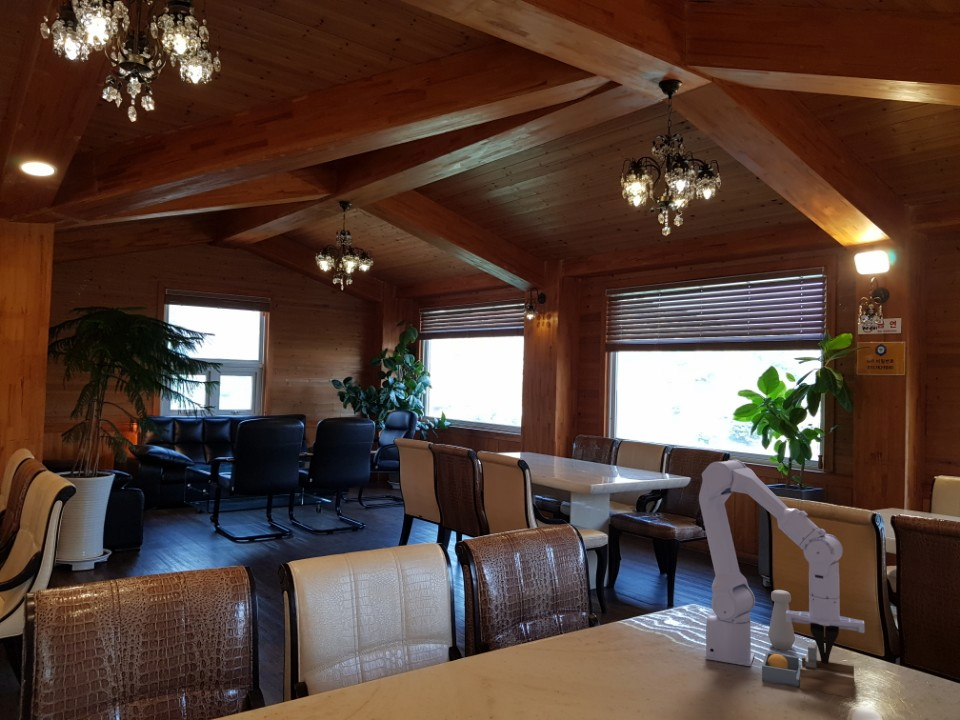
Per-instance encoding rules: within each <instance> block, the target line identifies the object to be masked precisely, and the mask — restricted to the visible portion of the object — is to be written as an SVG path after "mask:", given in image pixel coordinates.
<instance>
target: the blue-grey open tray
mask: <svg viewBox="0 0 960 720" xmlns="http://www.w3.org/2000/svg"><path fill="white" fill-rule="evenodd" d="M773 654H775V653H774V652H765V655H764V658H763V661H762V665H761V681H762V682H767V683H773V684H779V685H784V686H791V687H796V688H800V667H801V668H802V664H800V663H799V662H800V661H799V660H800V659H799V657H798V656H793V655H786V654H781V653H779V654H780V655H782V656H783V657H785V659H786V660H787V662H788V669H782V668H776V667H770V666H768V658H769V657H770V656H771V655H773Z"/></svg>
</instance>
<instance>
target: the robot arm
mask: <svg viewBox="0 0 960 720" xmlns="http://www.w3.org/2000/svg"><path fill="white" fill-rule="evenodd" d="M701 477H702V481H701V482H702V483H701V485H700V489H699V490H700V491H699V495H698V501H699V502H698V503H699V507H700V511H701V515H702V521H703V525H704V529H705V534H706V537H707V538H706V539H707V543H708V547H709V548H708V549H709V551H710V556H711V561H712V565H713V571H714V575H715V576H714V579H713V581H712V585H711V591H712V597H711V603H710V604H711V610H712V611H713V613H714V614H708V615H707V616H706V623H705V626H706V627H705V630H706V631H705V659H706V660H710V661H715V662H716V661H717V662H720V663H721V662H723V663H727V664H728V663H729V664H734V665H739V666H746V667H751V665H752V662H753V660H754V658H755V653H754V652H752V651H751V650H752V649H751V646H752V645H751V639H752V638H751V637H752V636H751V611H752V610H753V609H754V608H755V604H756V597H755V594H754V592H753V590H752V589H751V588H750V587H749V584H748V579H747V578H746V577H745V576H744V574H742V572H741V570H740V567H739V562H738V559H737V553H736V548H735V546H734V545H735V544H734V540H733V535H732V532H731V526H730V523H729V518H728V514H727V509H726V504H725V503H726V501H727V500H728V499H729V497H730V496H731V495H732V493H733V492H734V493H740V494H746V495H748V496H750V497H751V498H752V499H753V500H754V501H755V502H757V503H758V504H759V506H761V507H763V508H764V509H765V510H766V511H767V512H769V513H770V514H771V515H772V516H773V517H774V518H776V521H777V527H778V529H779V530H781V531H782V532H783V534H785V535H786V536H787V537H788V538H789V539H790V540H791V541H792V542H794V543H795V544H796V545H797V546H798V548H800V549H801V550H803V556H804V558H805V560H806V561H807V562H808V610H809V611H801V610H800V611H798V610H797V611H795V610H790V611H788V610H787V611H786V622H790V623H792V624H793V623H798V624H805V625H810V626H809V627H810V629H809V630H810V632H811V635H812V637H813V639H814V642H816V644H817V650H818V652H819V655H820V659H821V663H824V664H829V661H830V656H831V651H832V649H833V646H834V645H835V642H836V640H837V638H838V636H839V634H840V630H848V631H853V632H854V631H855V632H858V633H861V634H865V621H864V620H861V619H855V618H852V617H846V616H841V613H840V612H841V611H840V609H841V607H840V603H841V601H840V600H841V599H840V594H841V592H840V561H839V560H840V559H841V558H842V556H843V553H844V549H843V545H842V543H841V541H840V540H839V539H838V538H837V536H835V535H833V534H829V533H827V532H826V530H825V529H824V528H820V527H819V526H817V524H815V522H813V520H811V519H810V518H808V513H807V512H806V511H805V510H799V509H798V508H793V507H788V506H787V505H786V503H784V502H783V501H782V500H781V499H780V498H779V497H778V496H777V494H775V493H774V492H773V491H772V490H771V489H770V488H769V487H768V486H767V485H766V484H765V483H764V482H763V481H762V480H761V479H760V478H759V477H758V476H757V475H756V473H755V472H754V471H753V470H752V469H751V468H750V467H747V465H746V464H745V463H744V462H743V461H741V460H739V459H730V460H724V461H713V462H711V463H709V465H707V467H706V468H705V469H704V470H703V472H702V473H701Z"/></svg>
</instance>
